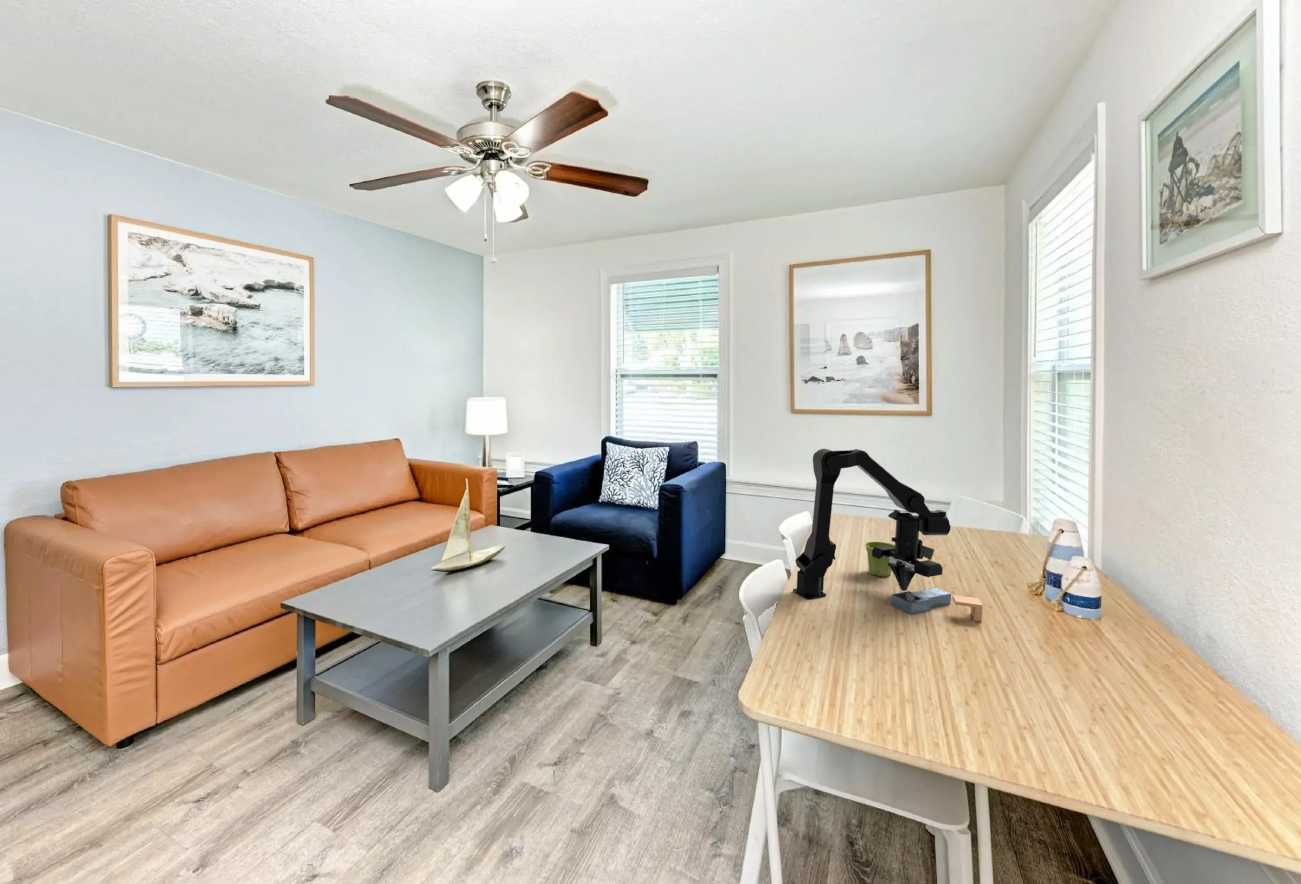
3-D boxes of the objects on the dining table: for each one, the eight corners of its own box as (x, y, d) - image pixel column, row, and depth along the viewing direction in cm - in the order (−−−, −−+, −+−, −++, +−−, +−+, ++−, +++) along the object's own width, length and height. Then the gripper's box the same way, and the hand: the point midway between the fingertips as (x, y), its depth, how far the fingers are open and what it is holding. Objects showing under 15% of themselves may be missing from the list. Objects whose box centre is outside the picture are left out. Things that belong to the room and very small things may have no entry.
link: (911, 614, 130) (911, 603, 129) (891, 604, 135) (891, 594, 135) (953, 605, 136) (954, 594, 135) (932, 596, 141) (933, 586, 141)
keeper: (954, 617, 128) (955, 601, 128) (951, 610, 132) (952, 595, 132) (981, 621, 126) (982, 605, 125) (977, 614, 130) (978, 598, 130)
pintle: (910, 609, 132) (910, 594, 132) (903, 606, 134) (904, 591, 134) (915, 608, 133) (916, 593, 133) (909, 605, 135) (910, 590, 135)
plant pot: (902, 579, 154) (904, 550, 153) (870, 578, 154) (871, 550, 154) (888, 568, 164) (890, 541, 163) (858, 568, 164) (859, 541, 163)
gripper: (959, 541, 136) (955, 598, 138) (900, 524, 153) (897, 575, 155) (928, 545, 132) (924, 605, 133) (871, 527, 149) (869, 580, 151)
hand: (903, 590), depth 143 cm, fingers closed
